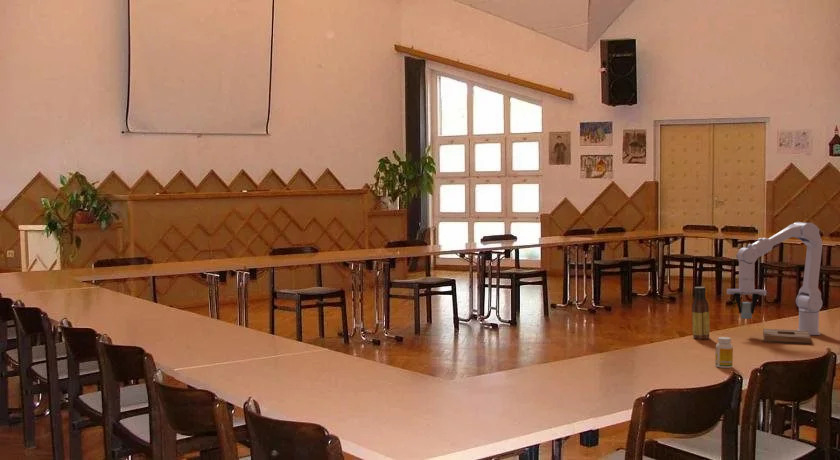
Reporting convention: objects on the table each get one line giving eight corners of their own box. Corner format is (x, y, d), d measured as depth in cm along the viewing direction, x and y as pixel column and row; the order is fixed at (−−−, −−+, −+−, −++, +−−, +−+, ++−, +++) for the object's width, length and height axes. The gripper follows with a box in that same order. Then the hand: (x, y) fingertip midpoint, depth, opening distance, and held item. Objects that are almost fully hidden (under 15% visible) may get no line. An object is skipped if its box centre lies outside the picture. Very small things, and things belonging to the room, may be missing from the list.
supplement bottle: (711, 366, 305) (712, 337, 304) (723, 364, 307) (723, 335, 307) (724, 369, 300) (724, 339, 299) (736, 367, 303) (736, 338, 302)
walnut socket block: (763, 334, 362) (763, 328, 361) (807, 336, 356) (807, 330, 356) (764, 342, 346) (764, 335, 346) (810, 344, 341) (810, 337, 341)
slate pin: (740, 317, 363) (740, 301, 362) (751, 317, 361) (751, 302, 361) (740, 318, 359) (740, 303, 359) (751, 319, 358) (751, 303, 357)
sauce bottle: (707, 336, 359) (708, 286, 357) (711, 339, 352) (711, 288, 351) (690, 336, 359) (690, 286, 358) (693, 339, 353) (694, 288, 352)
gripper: (726, 279, 358) (726, 313, 359) (766, 280, 353) (766, 315, 354) (727, 277, 365) (726, 311, 365) (766, 278, 360) (765, 312, 361)
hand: (746, 313), depth 360 cm, fingers closed on slate pin, 4 cm apart
